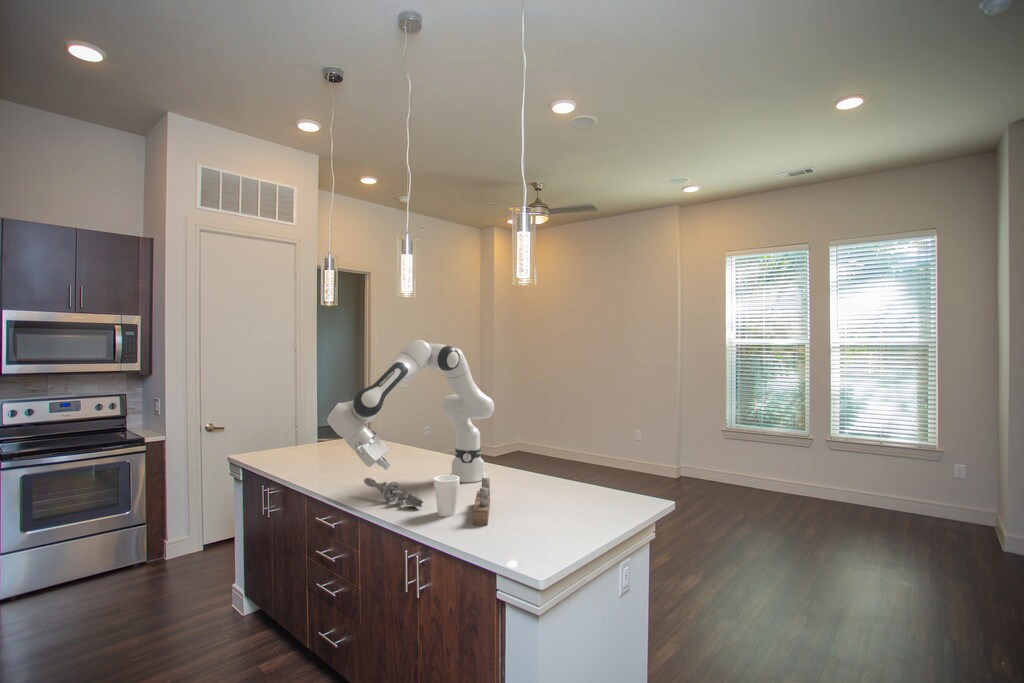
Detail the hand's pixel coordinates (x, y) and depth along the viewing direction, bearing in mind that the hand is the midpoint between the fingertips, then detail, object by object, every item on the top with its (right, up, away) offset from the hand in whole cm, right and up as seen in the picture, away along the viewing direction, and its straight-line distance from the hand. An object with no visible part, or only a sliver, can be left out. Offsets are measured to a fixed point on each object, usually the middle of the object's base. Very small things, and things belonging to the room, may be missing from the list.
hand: (388, 467), depth 186 cm
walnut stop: (+34, -17, 0) cm, 38 cm away
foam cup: (+21, -17, 0) cm, 27 cm away
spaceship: (-2, -17, +15) cm, 23 cm away
